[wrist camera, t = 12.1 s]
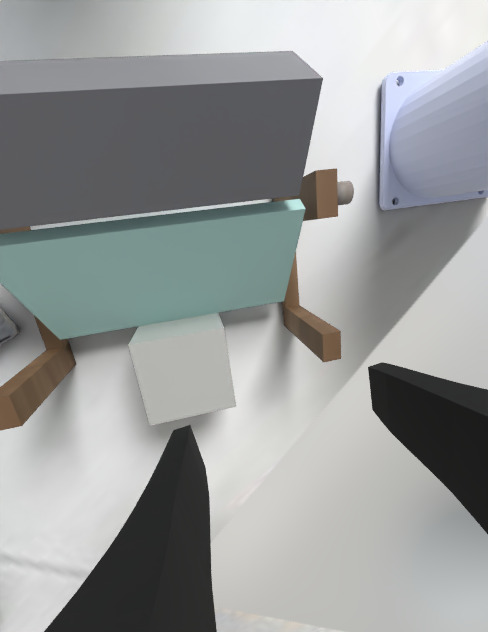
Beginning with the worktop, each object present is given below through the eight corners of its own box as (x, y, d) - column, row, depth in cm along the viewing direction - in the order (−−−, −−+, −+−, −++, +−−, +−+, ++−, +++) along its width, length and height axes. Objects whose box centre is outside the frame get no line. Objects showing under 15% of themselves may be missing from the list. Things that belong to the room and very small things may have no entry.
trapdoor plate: (304, 50, 10) (337, 77, 9) (271, 270, 20) (284, 302, 19) (-130, 65, 8) (-192, 104, 7) (66, 301, 18) (59, 341, 17)
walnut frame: (293, 97, 17) (352, 19, 11) (306, 321, 21) (354, 355, 15) (-47, 118, 14) (-224, 29, 8) (47, 369, 19) (-22, 435, 12)
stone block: (223, 327, 15) (236, 406, 16) (215, 305, 20) (225, 368, 21) (128, 345, 14) (150, 425, 16) (143, 318, 19) (158, 382, 20)
